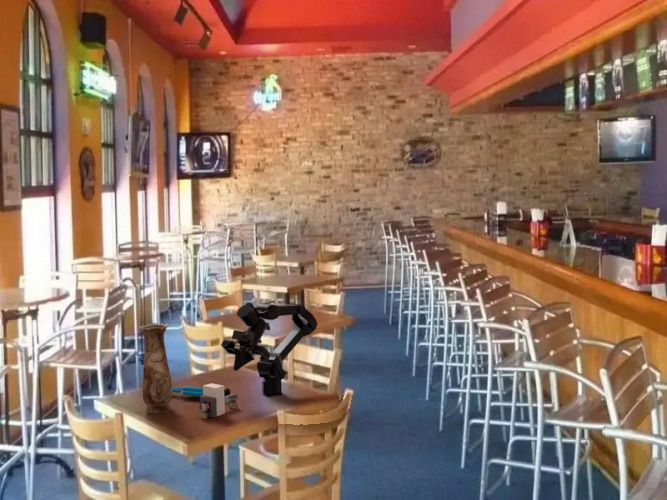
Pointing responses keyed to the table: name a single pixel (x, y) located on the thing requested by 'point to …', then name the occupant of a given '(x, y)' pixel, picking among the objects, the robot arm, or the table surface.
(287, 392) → the table surface
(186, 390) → the toy
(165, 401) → the vase
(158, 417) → the table surface
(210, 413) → the gray square plate
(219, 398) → the white block
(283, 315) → the robot arm
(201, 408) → the metal cylinder
